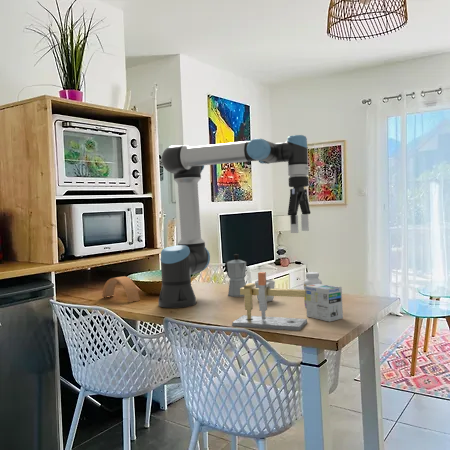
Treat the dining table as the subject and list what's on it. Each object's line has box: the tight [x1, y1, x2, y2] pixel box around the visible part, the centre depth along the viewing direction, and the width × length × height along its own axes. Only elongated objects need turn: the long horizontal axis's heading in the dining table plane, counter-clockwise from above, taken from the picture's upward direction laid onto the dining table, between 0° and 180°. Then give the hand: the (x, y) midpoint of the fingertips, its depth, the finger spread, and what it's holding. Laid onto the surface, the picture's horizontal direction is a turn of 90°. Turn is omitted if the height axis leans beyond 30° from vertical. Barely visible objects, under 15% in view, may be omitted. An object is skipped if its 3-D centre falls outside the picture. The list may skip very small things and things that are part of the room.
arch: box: [101, 275, 141, 303], centre depth 201 cm, size 6×20×10 cm, turn 47°
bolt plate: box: [231, 314, 308, 331], centre depth 148 cm, size 22×10×1 cm, turn 66°
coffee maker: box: [224, 253, 247, 298], centre depth 201 cm, size 15×9×18 cm, turn 35°
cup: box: [254, 279, 276, 303], centre depth 184 cm, size 11×8×8 cm
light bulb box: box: [305, 283, 344, 322], centre depth 154 cm, size 11×7×11 cm, turn 35°
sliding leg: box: [257, 271, 270, 320], centre depth 150 cm, size 2×6×15 cm, turn 156°
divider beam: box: [240, 282, 307, 319], centre depth 149 cm, size 22×5×11 cm, turn 66°
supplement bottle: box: [303, 271, 323, 308], centre depth 170 cm, size 7×7×13 cm
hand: (300, 231), depth 176 cm, fingers open, 13 cm apart
